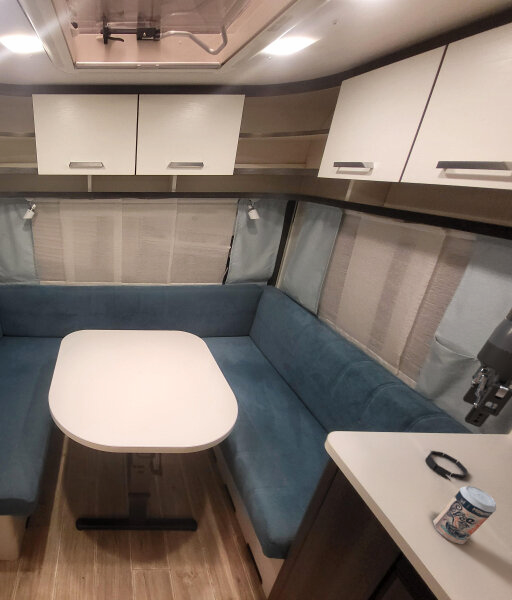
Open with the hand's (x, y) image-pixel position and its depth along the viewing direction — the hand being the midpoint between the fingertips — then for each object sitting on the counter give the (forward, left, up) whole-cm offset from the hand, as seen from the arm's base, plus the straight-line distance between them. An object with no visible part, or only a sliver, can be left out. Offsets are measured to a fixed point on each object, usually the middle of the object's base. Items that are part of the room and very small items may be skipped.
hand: (470, 412), depth 63 cm
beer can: (+1, +11, -23) cm, 26 cm away
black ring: (-10, -6, -23) cm, 26 cm away
